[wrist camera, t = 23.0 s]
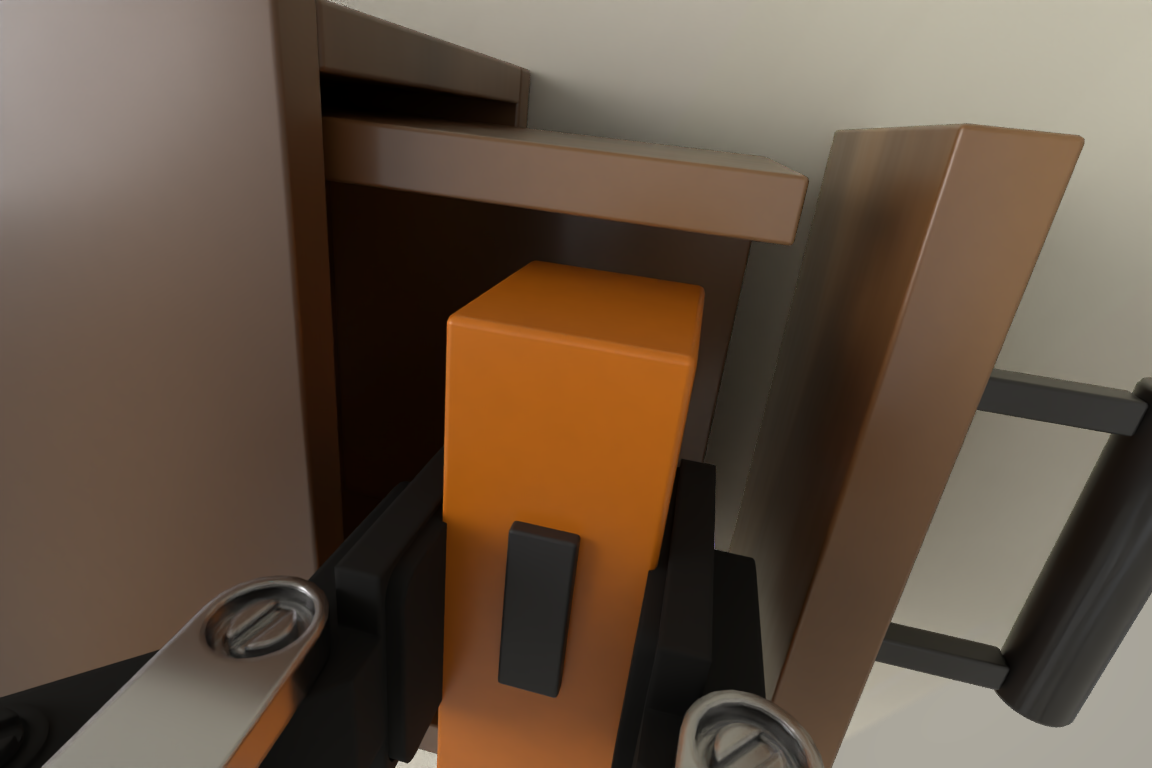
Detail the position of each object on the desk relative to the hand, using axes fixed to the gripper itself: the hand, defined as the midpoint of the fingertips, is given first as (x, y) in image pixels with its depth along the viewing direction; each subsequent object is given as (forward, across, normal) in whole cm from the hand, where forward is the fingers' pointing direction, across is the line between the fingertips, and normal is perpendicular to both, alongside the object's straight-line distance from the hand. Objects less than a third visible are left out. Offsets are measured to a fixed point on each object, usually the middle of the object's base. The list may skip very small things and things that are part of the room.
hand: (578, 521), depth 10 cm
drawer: (+7, 0, 0) cm, 7 cm away
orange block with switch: (+1, 0, 0) cm, 1 cm away
